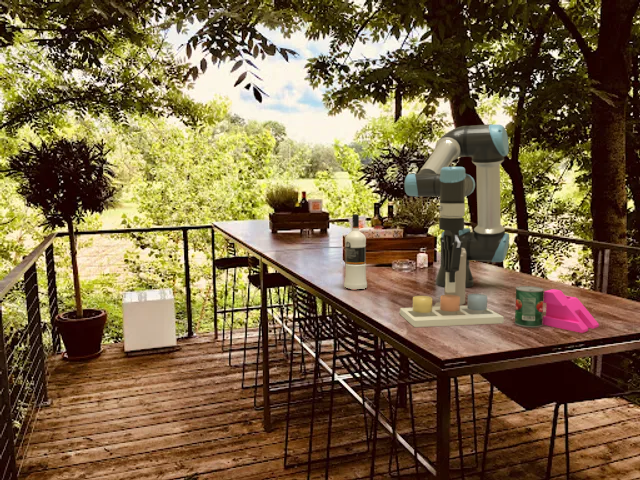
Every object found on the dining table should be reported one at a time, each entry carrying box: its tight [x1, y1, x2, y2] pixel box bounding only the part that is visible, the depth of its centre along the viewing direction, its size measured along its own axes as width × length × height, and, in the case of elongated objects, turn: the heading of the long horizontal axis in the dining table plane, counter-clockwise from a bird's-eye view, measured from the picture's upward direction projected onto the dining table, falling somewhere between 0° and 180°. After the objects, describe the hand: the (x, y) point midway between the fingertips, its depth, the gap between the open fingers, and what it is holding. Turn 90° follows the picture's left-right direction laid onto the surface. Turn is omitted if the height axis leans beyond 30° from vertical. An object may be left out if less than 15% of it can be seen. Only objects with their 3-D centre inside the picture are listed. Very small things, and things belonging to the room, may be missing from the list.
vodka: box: [343, 213, 368, 290], centre depth 218 cm, size 9×9×30 cm
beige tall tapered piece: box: [432, 248, 466, 307], centre depth 191 cm, size 7×14×20 cm, turn 130°
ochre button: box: [412, 295, 433, 313], centre depth 170 cm, size 6×6×4 cm
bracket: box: [542, 288, 600, 334], centre depth 163 cm, size 12×10×10 cm
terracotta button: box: [439, 294, 461, 312], centre depth 171 cm, size 6×6×4 cm
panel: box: [399, 304, 505, 328], centre depth 172 cm, size 16×28×2 cm, turn 98°
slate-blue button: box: [466, 293, 488, 310], centre depth 173 cm, size 6×6×4 cm
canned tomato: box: [514, 285, 545, 328], centre depth 164 cm, size 8×8×11 cm
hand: (450, 291), depth 171 cm, fingers closed
